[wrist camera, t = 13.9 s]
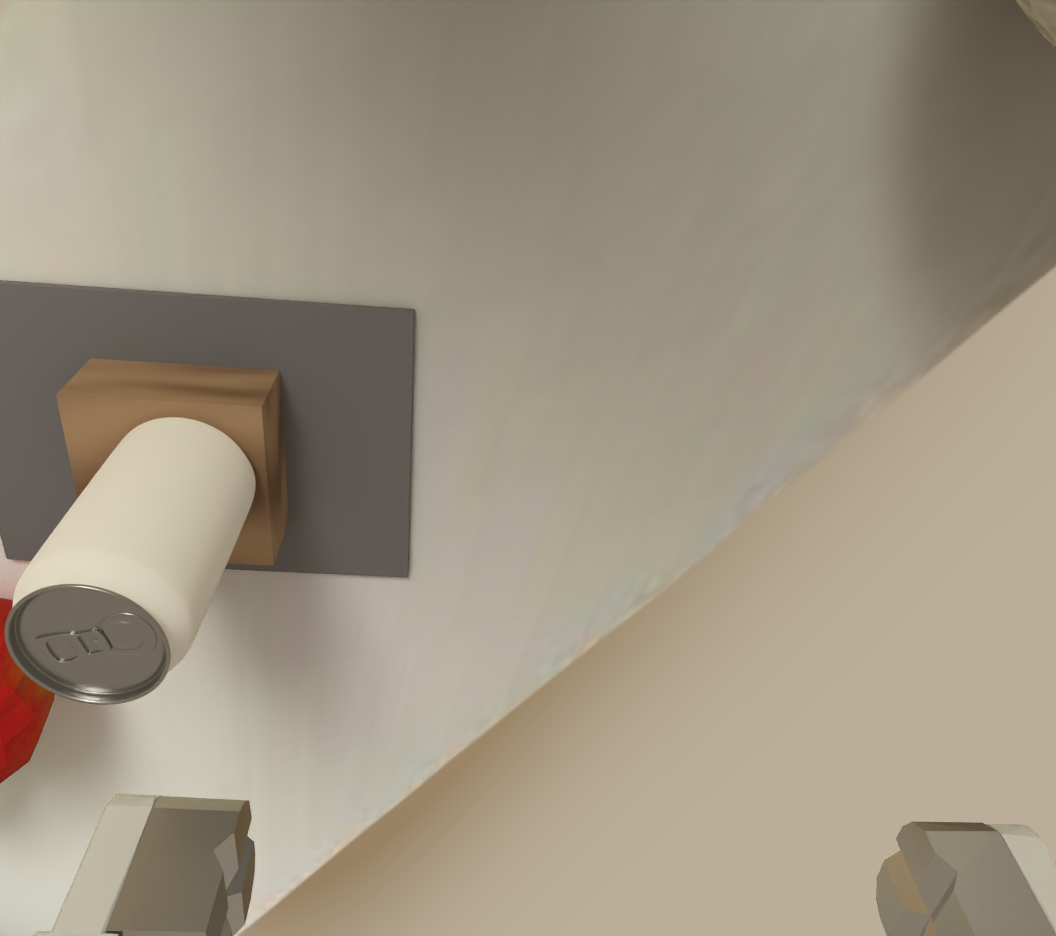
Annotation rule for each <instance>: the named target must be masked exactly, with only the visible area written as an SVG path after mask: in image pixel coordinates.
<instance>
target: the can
mask: <svg viewBox="0 0 1056 936" xmlns="http://www.w3.org/2000/svg"><path fill="white" fill-rule="evenodd" d="M255 486H256V481H255V475H254V471H253V469H252V466H251V464H250V462H249V460H248V459H247V457H246V456H245V454H244V453H243V451H242V450H241V449H240V448H239V446H238V445H237V444H236V443H235V442H234V441H233V440H232V439H231V438H230V437H228V436H227V435H226V434H224V433H223V432H221V431H220V430H218V429H216V428H214V427H212V426H210V425H208V424H205V423H203V422H200V421H196V420H192V419H188V418H180V417H166V418H158V419H154V420H150V421H148V422H145V423H143V424H141V425H139V426H137V427H136V428H134V429H133V430H131V431H130V432H129V433H128V434H127V435H126V436H125V437H124V438H123V439H122V441H121V442H120V443H119V444H118V446H117V447H116V448H115V449H114V451H113V452H112V453H111V455H110V456H109V457H108V459H107V460H106V461H105V463H104V464H103V465H102V466H101V468H100V469H99V470H98V472H97V473H96V474H95V476H94V477H93V478H92V480H91V481H90V482H89V484H88V485H87V486H86V488H85V489H84V490H83V492H82V493H81V494H80V496H79V497H78V498H77V500H76V501H75V503H74V504H73V505H72V507H71V508H70V509H69V511H68V512H67V513H66V515H65V516H64V517H63V519H62V520H61V521H60V523H59V524H58V525H57V527H56V528H55V529H54V531H53V532H52V533H51V535H50V536H49V538H48V539H47V540H46V542H45V543H44V544H43V546H42V547H41V548H40V550H39V551H38V553H37V554H36V555H35V557H34V558H33V559H32V561H31V562H30V564H29V565H28V566H27V568H26V569H25V571H24V572H23V574H22V576H21V577H20V579H19V581H18V583H17V585H16V588H15V591H14V596H13V608H12V610H11V611H10V613H9V615H8V617H7V620H6V624H5V641H6V645H7V648H8V651H9V653H10V655H11V657H12V659H13V660H14V662H15V663H16V664H17V666H18V667H19V668H20V669H21V670H22V671H23V672H24V673H25V674H26V675H27V676H28V677H29V678H30V679H31V680H33V681H34V682H35V683H37V684H38V685H40V686H41V687H43V688H45V689H46V690H48V691H50V692H52V693H55V694H57V695H59V696H62V697H64V698H67V699H71V700H74V701H78V702H83V703H89V704H102V705H107V704H119V703H125V702H129V701H133V700H136V699H138V698H141V697H143V696H145V695H147V694H148V693H150V692H151V691H153V690H154V689H155V688H156V687H157V686H158V685H159V684H160V683H161V682H162V681H163V679H164V678H165V676H166V674H167V672H168V671H170V670H171V669H172V668H174V667H175V666H176V665H177V664H178V663H179V662H180V661H181V660H182V659H183V658H184V656H185V655H186V653H187V652H188V650H189V648H190V647H191V645H192V643H193V641H194V638H195V636H196V634H197V632H198V630H199V627H200V625H201V623H202V621H203V618H204V616H205V614H206V611H207V609H208V607H209V604H210V602H211V600H212V597H213V595H214V593H215V590H216V588H217V586H218V583H219V581H220V579H221V576H222V574H223V572H224V569H225V567H226V565H227V562H228V560H229V558H230V555H231V553H232V551H233V548H234V546H235V543H236V541H237V539H238V536H239V534H240V532H241V529H242V527H243V524H244V522H245V520H246V517H247V515H248V512H249V510H250V507H251V504H252V502H253V498H254V494H255Z"/></svg>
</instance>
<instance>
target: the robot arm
mask: <svg viewBox="0 0 1056 936" xmlns="http://www.w3.org/2000/svg"><path fill="white" fill-rule="evenodd" d="M251 819H252V817H251V811H250V804H249V801H247V800H227V799H208V798H188V797H168V796H155V795H126V794H116V795H115V796H114V797H113V799H112V800H111V801H110V802H109V804H108V805H107V806H106V807H105V809H104V812H103V814H102V816H101V818H100V821H99V823H98V825H97V828H96V830H95V832H94V835H93V837H92V839H91V841H90V844H89V846H88V848H87V851H86V853H85V855H84V857H83V860H82V862H81V864H80V867H79V869H78V871H77V873H76V876H75V878H74V880H73V883H72V885H71V887H70V890H69V892H68V894H67V896H66V899H65V901H64V903H63V906H62V908H61V910H60V912H59V915H58V917H57V919H56V922H55V924H54V926H53V929H52V931H51V932H36V933H35V934H34V935H33V936H234V935H235V934H236V933H237V932H238V931H239V930H240V929H241V928H242V927H243V925H244V924H245V921H246V917H247V913H248V908H249V904H250V900H251V893H252V886H253V879H254V870H255V848H254V841H252V840H251V839H250V838H249V837H248V836H247V834H248V830H249V826H250V822H251ZM896 840H897V842H898V845H899V847H900V850H901V851H899V852H897V853H896V854H894V855H893V856H891V857H889V858H888V859H886V860H885V861H884V862H883V865H882V867H881V869H880V872H879V874H878V876H877V888H876V889H877V890H876V900H877V905H878V910H879V915H880V918H881V922H882V924H883V927H884V929H885V932H886V935H887V936H1056V863H1055V862H1054V860H1053V859H1052V857H1051V855H1050V854H1049V852H1048V850H1047V849H1046V847H1045V846H1044V844H1043V842H1042V840H1041V839H1040V837H1039V836H1038V835H1037V833H1035V832H1034V831H1033V830H1032V829H1031V828H1029V827H1028V826H1023V825H996V824H995V825H993V824H992V825H991V824H983V823H963V822H960V823H959V822H911V823H908V824H906V825H904V826H903V827H902V829H901V830H900V832H899V834H898V836H897V838H896Z"/></svg>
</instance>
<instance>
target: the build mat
mask: <svg viewBox="0 0 1056 936" xmlns="http://www.w3.org/2000/svg"><path fill="white" fill-rule="evenodd" d="M413 346H414V309H401V308H387V307H372V306H358V305H344V304H330V303H315V302H301V301H287V300H273V299H258V298H244V297H230V296H215V295H201V294H187V293H173V292H158V291H144V290H130V289H116V288H101V287H87V286H73V285H58V284H44V283H30V282H16V281H1V280H0V535H1V539H2V543H3V546H4V550H5V554H6V558H7V559H17V560H32V559H33V558H34V557H35V555H36V554H37V553H38V551H39V550H40V548H41V547H42V546H43V544H44V543H45V542H46V540H47V539H48V538H49V536H50V535H51V533H52V532H53V531H54V529H55V528H56V527H57V525H58V524H59V523H60V521H61V520H62V519H63V517H64V516H65V515H66V513H67V512H68V511H69V509H70V508H71V507H72V505H73V504H74V503H75V501H76V500H77V494H76V489H75V485H74V480H73V475H72V470H71V465H70V460H69V456H68V451H67V446H66V441H65V436H64V432H63V427H62V422H61V417H60V412H59V408H58V403H57V398H56V394H57V393H58V392H59V391H60V390H61V389H62V388H63V387H64V386H65V385H66V384H67V383H68V382H69V380H70V379H71V378H72V377H73V376H74V375H75V374H76V373H77V372H78V371H79V370H80V369H81V368H82V367H83V366H84V365H85V364H86V363H87V362H88V361H89V360H90V359H91V358H93V359H109V360H125V361H140V362H156V363H172V364H187V365H203V366H219V367H234V368H250V369H266V370H280V383H281V399H282V415H283V432H284V448H285V464H286V480H287V496H288V513H289V523H288V525H287V528H286V531H285V534H284V537H283V540H282V543H281V546H280V548H279V551H278V554H277V557H276V560H275V563H274V566H271V565H249V564H227V565H226V567H225V569H235V570H257V571H279V572H301V573H323V574H344V575H366V576H388V577H408V560H409V517H410V474H411V432H412V389H413Z"/></svg>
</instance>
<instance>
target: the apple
mask: <svg viewBox="0 0 1056 936" xmlns="http://www.w3.org/2000/svg"><path fill="white" fill-rule="evenodd" d="M12 608H13V600H7V599H1V598H0V783H1V782H3V781H4V780H5V779H7V778H8V777H9V776H10V775H12V774H13V773H14V772H16V771H17V770H18V769H20V768H21V767H22V766H23V765H25V764H26V763H27V762H29V761H30V758H31V756H32V754H33V752H34V749H35V747H36V745H37V742H38V740H39V738H40V735H41V732H42V730H43V727H44V724H45V722H46V719H47V716H48V714H49V711H50V709H51V706H52V703H53V701H54V695H55V693H52V692H50V691H48V690H46V689H45V688H43V687H41V686H40V685H38V684H37V683H35V682H34V681H33V680H31V679H30V678H29V677H28V676H27V675H26V674H25V673H24V672H23V671H22V670H21V669H20V668H19V667H18V666H17V664H16V663H15V662H14V660H13V659H12V657H11V655H10V653H9V651H8V648H7V645H6V641H5V624H6V620H7V617H8V615H9V613H10V611H11V610H12Z"/></svg>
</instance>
